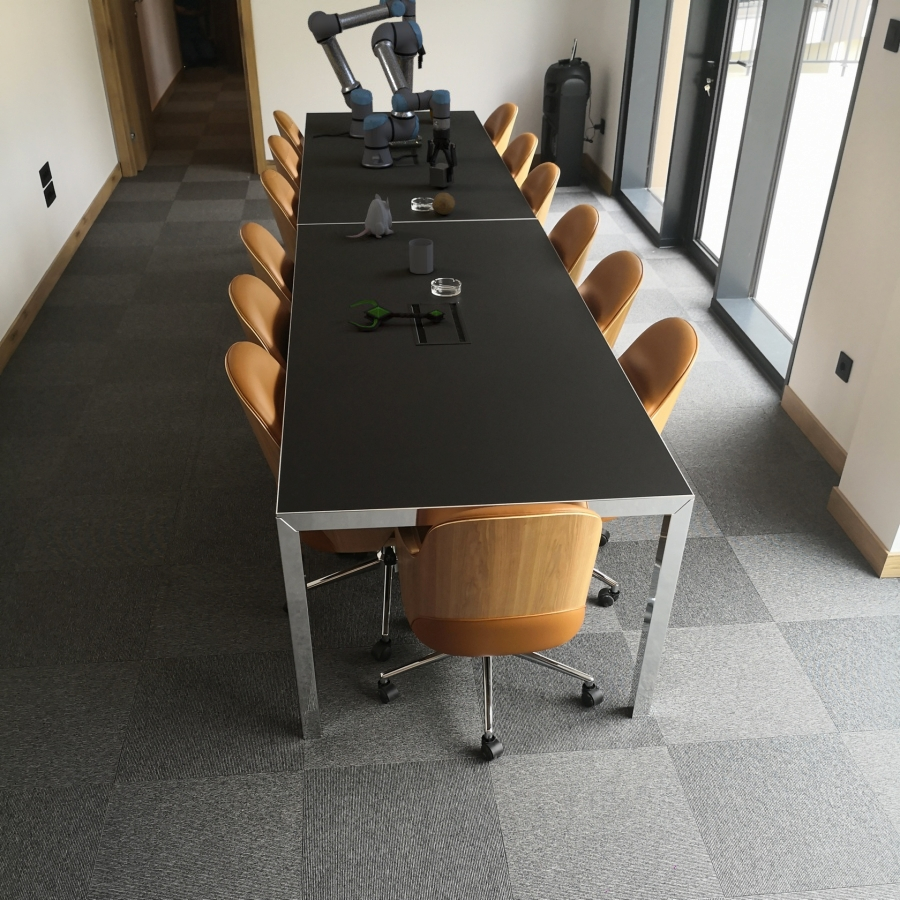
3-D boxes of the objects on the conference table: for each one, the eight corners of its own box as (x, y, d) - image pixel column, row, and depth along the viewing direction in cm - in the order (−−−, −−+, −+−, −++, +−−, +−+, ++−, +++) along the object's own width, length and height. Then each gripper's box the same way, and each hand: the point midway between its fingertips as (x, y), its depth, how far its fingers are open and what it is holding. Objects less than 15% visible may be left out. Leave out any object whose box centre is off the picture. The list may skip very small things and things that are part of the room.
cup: (409, 265, 311) (408, 238, 306) (432, 265, 312) (431, 238, 307) (410, 274, 304) (409, 246, 299) (433, 273, 305) (433, 246, 299)
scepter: (445, 294, 271) (348, 292, 269) (446, 325, 264) (347, 323, 262) (443, 307, 276) (349, 305, 274) (445, 338, 269) (347, 336, 267)
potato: (453, 208, 369) (453, 189, 365) (456, 218, 357) (456, 199, 353) (431, 208, 368) (430, 189, 364) (432, 218, 356) (432, 199, 352)
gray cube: (440, 180, 399) (440, 162, 395) (454, 183, 395) (454, 165, 391) (429, 184, 393) (429, 166, 389) (443, 187, 389) (443, 169, 385)
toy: (399, 233, 341) (398, 195, 333) (354, 248, 327) (351, 208, 319) (383, 228, 346) (382, 190, 338) (338, 242, 332) (335, 203, 324)
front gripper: (417, 126, 383) (418, 178, 395) (456, 132, 373) (456, 185, 386) (427, 123, 388) (427, 175, 401) (465, 129, 379) (465, 182, 391)
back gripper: (386, 24, 473) (388, 66, 485) (423, 27, 461) (424, 70, 473) (394, 22, 478) (396, 64, 490) (431, 26, 467) (432, 68, 478)
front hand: (441, 180), depth 393 cm, fingers closed on gray cube, 8 cm apart
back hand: (410, 67), depth 481 cm, fingers open, 13 cm apart
